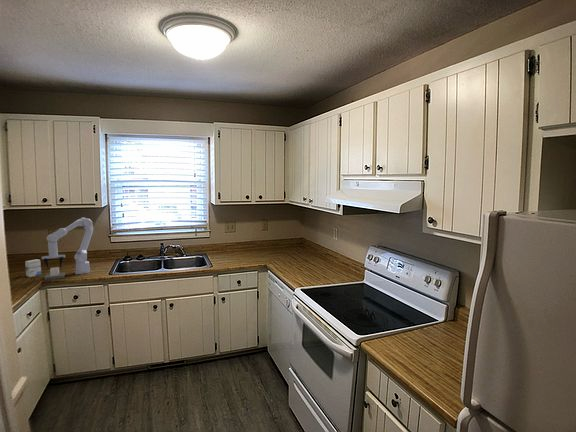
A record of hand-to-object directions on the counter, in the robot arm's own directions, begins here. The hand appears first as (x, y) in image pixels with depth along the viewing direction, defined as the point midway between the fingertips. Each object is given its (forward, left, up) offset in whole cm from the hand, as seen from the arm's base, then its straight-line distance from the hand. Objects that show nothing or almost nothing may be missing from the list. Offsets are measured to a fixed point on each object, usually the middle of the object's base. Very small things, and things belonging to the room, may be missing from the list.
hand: (54, 267), depth 259 cm
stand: (0, 0, -8) cm, 8 cm away
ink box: (+15, -14, -8) cm, 22 cm away
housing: (0, 0, -6) cm, 6 cm away
